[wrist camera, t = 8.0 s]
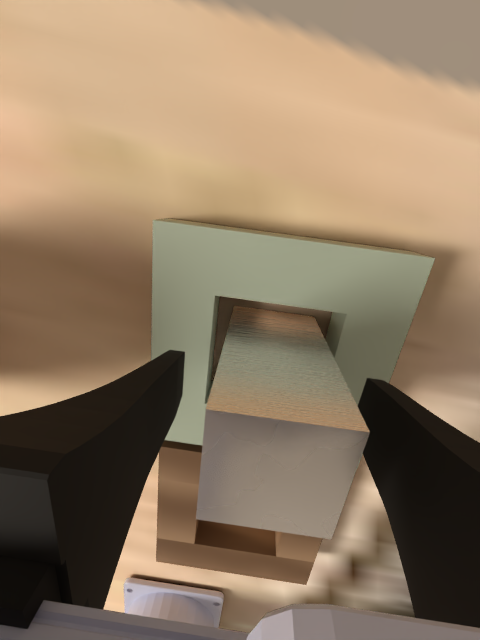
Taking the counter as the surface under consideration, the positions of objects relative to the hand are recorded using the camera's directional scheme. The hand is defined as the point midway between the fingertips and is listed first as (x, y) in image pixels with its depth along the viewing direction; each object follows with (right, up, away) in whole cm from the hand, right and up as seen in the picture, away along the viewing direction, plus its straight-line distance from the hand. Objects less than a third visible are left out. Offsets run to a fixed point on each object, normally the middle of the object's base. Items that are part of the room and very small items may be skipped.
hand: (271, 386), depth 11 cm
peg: (0, +1, +4) cm, 4 cm away
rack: (0, +1, +4) cm, 4 cm away
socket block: (-1, -9, +8) cm, 12 cm away
